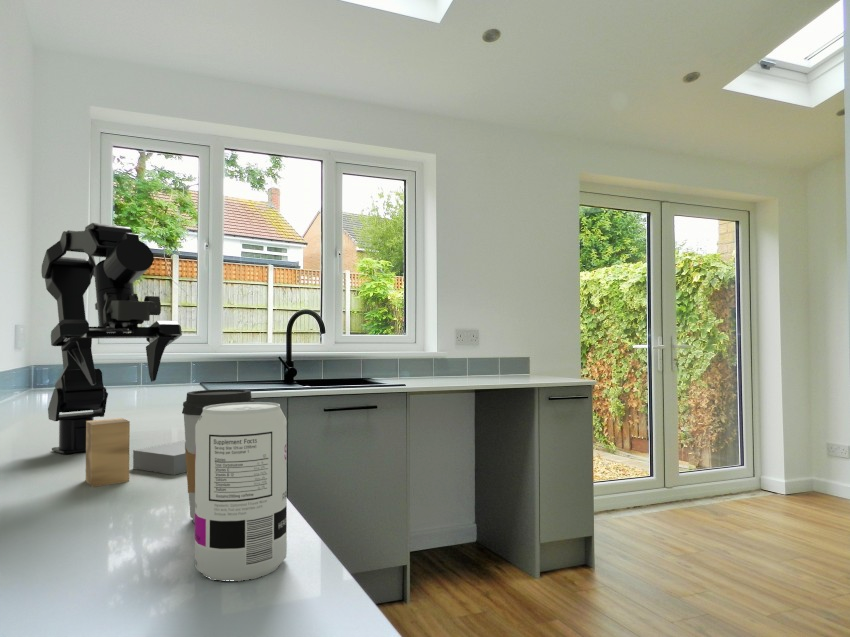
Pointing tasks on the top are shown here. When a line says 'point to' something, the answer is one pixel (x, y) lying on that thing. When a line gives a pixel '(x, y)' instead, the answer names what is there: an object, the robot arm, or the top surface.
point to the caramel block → (107, 451)
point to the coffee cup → (191, 416)
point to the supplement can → (240, 490)
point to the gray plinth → (161, 458)
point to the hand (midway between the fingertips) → (124, 382)
